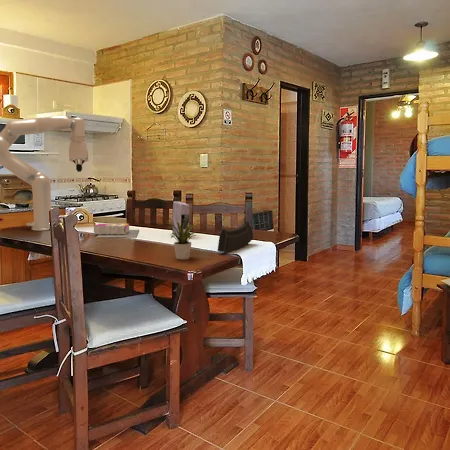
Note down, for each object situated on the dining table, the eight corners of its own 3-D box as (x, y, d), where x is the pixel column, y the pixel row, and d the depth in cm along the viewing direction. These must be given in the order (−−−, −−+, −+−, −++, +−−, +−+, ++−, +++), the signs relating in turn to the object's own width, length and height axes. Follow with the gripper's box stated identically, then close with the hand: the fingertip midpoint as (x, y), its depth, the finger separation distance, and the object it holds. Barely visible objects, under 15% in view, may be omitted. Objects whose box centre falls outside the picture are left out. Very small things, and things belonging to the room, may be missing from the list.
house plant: (155, 260, 175) (154, 218, 173) (171, 253, 188) (171, 215, 186) (187, 263, 170) (187, 220, 168) (202, 256, 183) (202, 216, 181)
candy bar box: (99, 222, 244) (129, 223, 244) (99, 232, 244) (129, 232, 245) (93, 225, 233) (125, 225, 233) (93, 234, 233) (125, 235, 233)
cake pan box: (190, 238, 229) (190, 204, 226) (180, 238, 227) (180, 204, 225) (180, 233, 246) (180, 201, 244) (172, 233, 245) (171, 201, 242)
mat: (96, 238, 227) (96, 236, 227) (103, 231, 251) (103, 230, 251) (136, 237, 230) (136, 236, 230) (139, 230, 253) (139, 229, 253)
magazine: (221, 234, 183) (250, 207, 207) (214, 234, 184) (243, 207, 209) (226, 271, 190) (253, 241, 214) (220, 270, 191) (247, 240, 215)
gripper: (63, 139, 254) (64, 171, 256) (90, 139, 255) (91, 171, 258) (66, 139, 261) (67, 171, 263) (92, 140, 263) (93, 171, 265)
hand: (79, 171), depth 261 cm, fingers closed
